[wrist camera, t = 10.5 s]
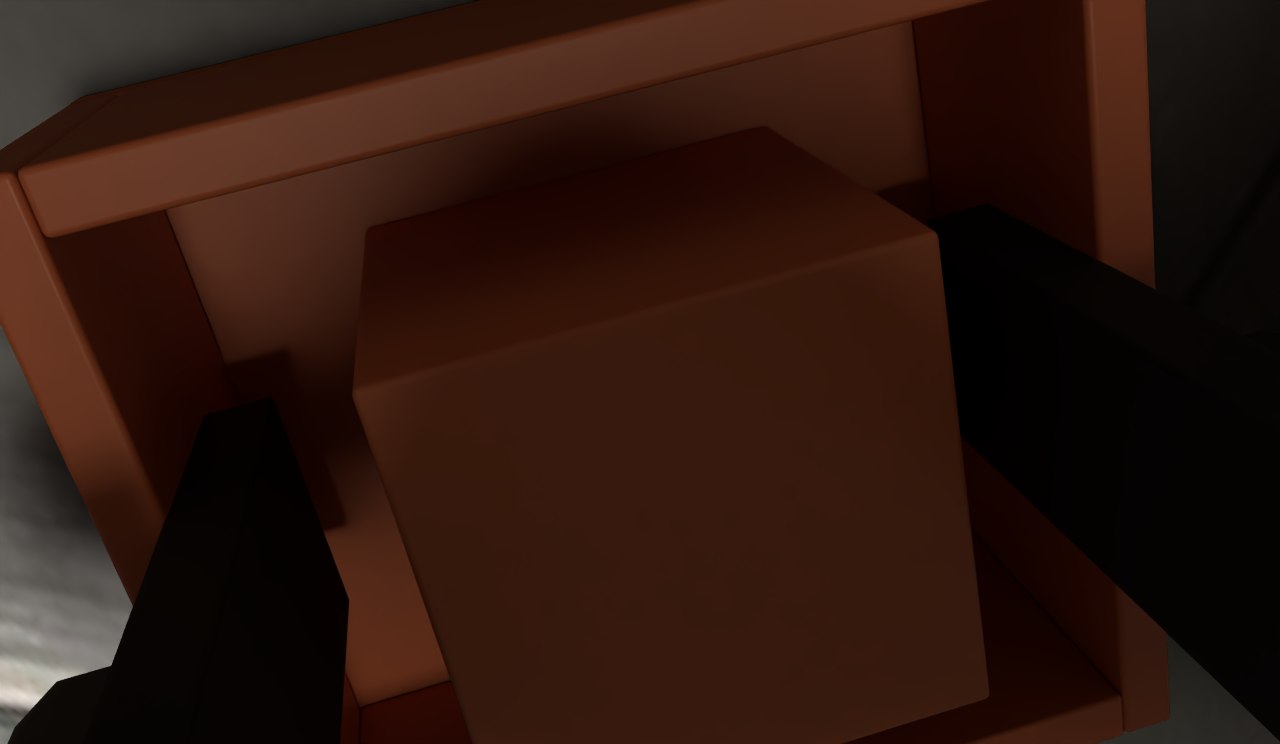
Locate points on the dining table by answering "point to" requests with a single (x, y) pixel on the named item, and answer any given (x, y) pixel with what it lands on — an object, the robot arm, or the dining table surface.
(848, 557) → the terracotta block
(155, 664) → the robot arm
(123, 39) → the dining table surface
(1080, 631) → the terracotta bin
